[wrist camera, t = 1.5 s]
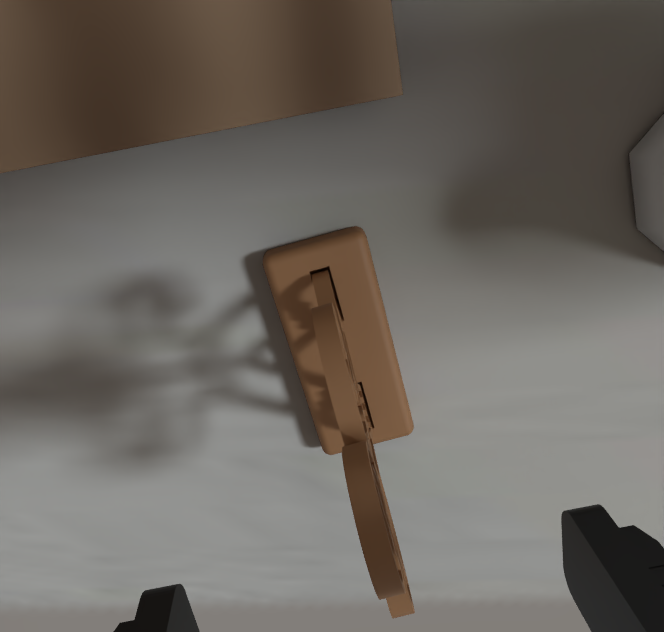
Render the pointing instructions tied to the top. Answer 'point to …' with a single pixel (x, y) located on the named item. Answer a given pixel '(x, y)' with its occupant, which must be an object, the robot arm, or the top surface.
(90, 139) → the walnut plinth
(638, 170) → the flask
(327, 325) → the gingerbread man figurine
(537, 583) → the top surface
